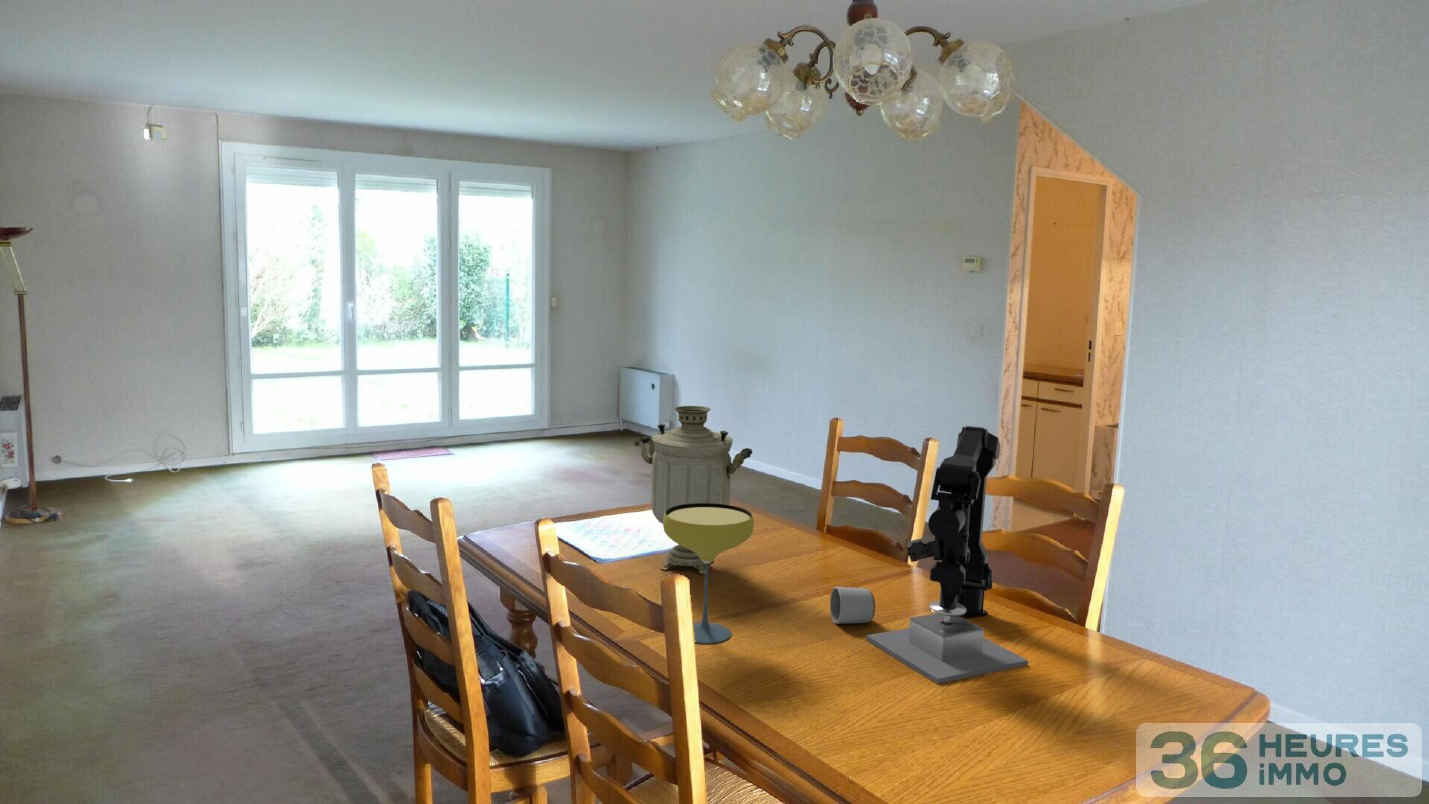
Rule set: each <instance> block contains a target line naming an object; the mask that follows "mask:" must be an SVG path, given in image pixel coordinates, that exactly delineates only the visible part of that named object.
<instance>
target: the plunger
mask: <svg viewBox="0 0 1429 804" xmlns="http://www.w3.org/2000/svg"><path fill="white" fill-rule="evenodd" d="M928 608H929V610H930V611H932V612H933V613H934V614H936V613H938V614H942V615H944V625H946V626H947V625H949V620H950V616H961V615H963V614H965V613H966V607H965V606H963V605H961V604H959V603H957V596H956V598H955V599H954V601H953V603H952V605H951V607H950V608H945V607H944V603H943V597H942V591H941V589H940V590H939V600H936V601H935V600H934V601H932V602H930V603H929V606H928Z"/></svg>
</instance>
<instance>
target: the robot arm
mask: <svg viewBox="0 0 1429 804" xmlns="http://www.w3.org/2000/svg"><path fill="white" fill-rule="evenodd" d="M1000 451H1001V443H1000V439H999V437H998V436H996V435H994V434H993V433H991V432H989V430H988V428H985V427H982V426H981V427H980V426H969V425H966V426H962V428H961V431H960V432H959V433H958V435H957V441H956V448H955V451H954V453H953V455H952V456H948V457H945V458H944V459H943V460H942V461H941V463H940V465H939V467H936V470H935V475H934V480H933V484H932V485H933V486H932V489H931V490H932V491H931V495H930V500H931V501H938V503H937V508H936V509H935V510H934V511H933V512H932V513H931V515H930V516H929V519H928V521H927V523H928V528H929V532H930V533H931V534H932V536H926V537H922V538H917V539H913V540H909V541H908V542H907V544H906V549H907V556H909V559H910V562H911V563H915V562H918V561H920V560H924V559H928V558H932V557H933V561H936V562H935V563H934V564H931V568H930V573H929V581H931V582H936V583H939V585H940V590H941V591H942V597H943V603H944V607H945V608H950V607H951V605H952V603H953V601H954V599H955V598H956V596H957V603H959V604H961V605H963V606H965V607H966V613H965V614H963V615H960V617H962V618H964V619H969V618H974V617H980V616H981V617H982V616H986V615H988V614H989V612H988V611H987V610H985V609H984V606H985V605H984V604H985V603H984V602H985V601H984V600H985V592H987V591H988V590H992V589H993V582H994V581H993V570H992V568H991V564H990V563H989V562H988V560H989V557H988V556H989V553H988V552H987V549H986V548H985V545H984V544H983V541H982V539H983V529H984V528H983V527H984V519H985V517H984V516H985V504H986V494H987V483H988V480H987V479H988V476H989V475H990V473H991V472H992V470H993V469H994V467H995V466H996V462H997V460H999V458H1000V453H1001V452H1000Z"/></svg>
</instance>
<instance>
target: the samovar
mask: <svg viewBox="0 0 1429 804" xmlns="http://www.w3.org/2000/svg"><path fill="white" fill-rule="evenodd" d="M674 410H675V412H677V413H678V421H679V423H680V424H681V425H680V426H677V427H675V428H673V429H671V430H666V431H665V427H666V424H665V423H660V424H658V425H657V426H656V427H657V428H658V429H659V432H657V433H655V434H653V435H652V436H651V437H649V436H643V437H639V438H638V439H636V440H635V441H634V442H633V445H634V446H635V447H639V448H641V449H640V450H641V451H640V452H641V453H640V456H641V458H642V459H643V461H644V462H645V463H646V464H649V465H651V470H652V471H651V503H650V504H651V511H652V514H653V515H654V517H655V518H656V520H657V521H658V522H659V523H660V524H662V525H663V517H664V513H665V511H666V510H667V509H669V508H671V507H674V506H677V505H683V504H691V503H716V504H725V505H730V502H731V501H730V500H731V475H732V474H734V473H735V472H736V471H737V470H738V469H740V468H741V466H742V465H743V464H744V461H745V460H746V459H749V458H750V457H751V455H752V454H753V450H752V449H751V448H749V447H746V448H742V450H741V451H740V452H738V453H736V454H735V455H734V458H733V459H732V457H731V455H730V453H729V452H731V449H732V445H733V443H734V442H733V441H734V439H733V438H732V437H731V436H729V431H726V430H721V431H719V432H717V431H712V429H710V428H709V427H706V426H704V425H705V423H707V420H708V412H709V411H711V408H710V407H708V406H701V405H679V406H676V407H674ZM646 443H647V444H648V445H649V447H648V449H647V448H646ZM648 454H649V456H650V457H649V456H648ZM665 559H666V561H665V563H664V564H662V565H661V566H662V567H664V568H668V567H669V568H670V567H672V566H680V567H681V566H684V567H694V568H695V569H697V570H698V572H702V573H704V572H705V563H704V562H702V561H701V559H700V558H699V556H698V555H697V554H696V553H695V552H693V551H691V550H689V549H687V548H685V547H683V546H681V545H679V544H677V545H675V546H673V547H672V548H671V549H670V550H667V555H666V558H665ZM669 568H668V569H669Z"/></svg>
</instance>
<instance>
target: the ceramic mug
mask: <svg viewBox="0 0 1429 804" xmlns="http://www.w3.org/2000/svg"><path fill="white" fill-rule="evenodd" d="M875 599H876V598H875V596H874V594H873V591H871V590H870V589H867V588H863V587H848V586H845V587H844V586H835V587H833V589H832V591H831V594H830V598H829V610H830V611H829V612H830V617H831V619H832V622H833V623H834V624H838V625H840V624H842V625H843V624H844V625H847V624H865V623H870V622H871V621H873V619H874V618H875V615H876V614H875V613H876V600H875Z"/></svg>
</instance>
